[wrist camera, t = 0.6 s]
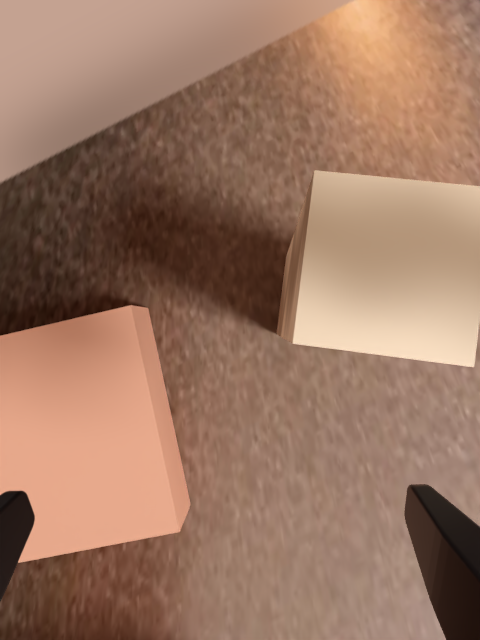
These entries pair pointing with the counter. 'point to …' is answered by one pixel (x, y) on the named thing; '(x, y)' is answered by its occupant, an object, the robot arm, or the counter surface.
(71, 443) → the terracotta stand
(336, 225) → the birch block
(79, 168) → the counter surface
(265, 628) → the counter surface
